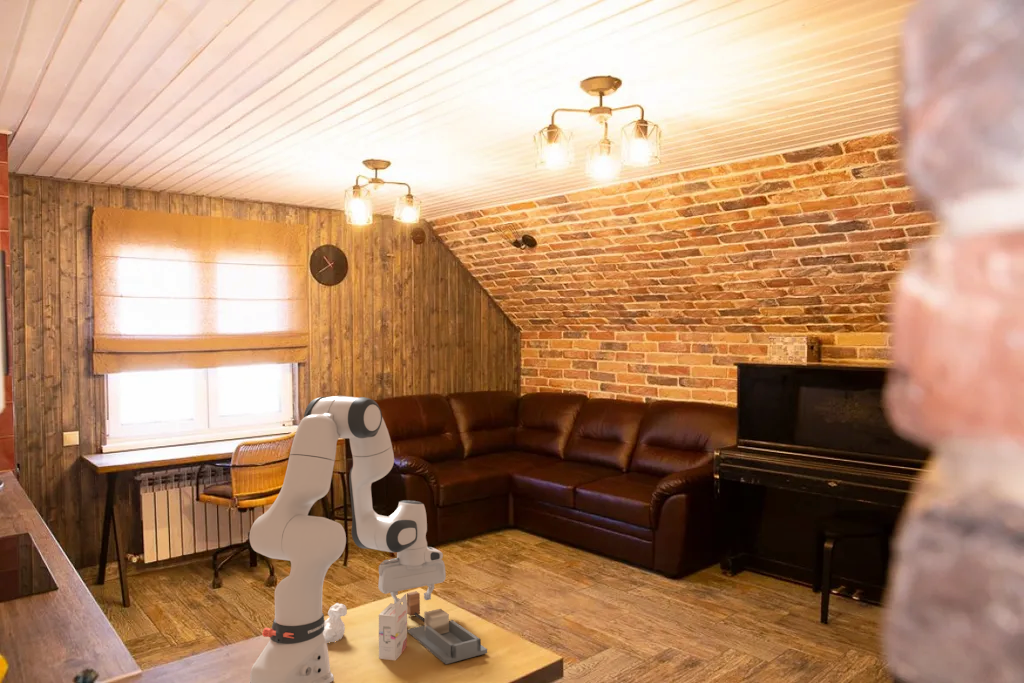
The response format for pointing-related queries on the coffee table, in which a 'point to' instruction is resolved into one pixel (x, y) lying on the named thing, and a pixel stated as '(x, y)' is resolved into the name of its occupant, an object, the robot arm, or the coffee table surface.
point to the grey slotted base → (449, 642)
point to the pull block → (428, 614)
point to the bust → (334, 623)
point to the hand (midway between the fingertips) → (412, 602)
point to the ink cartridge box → (393, 630)
